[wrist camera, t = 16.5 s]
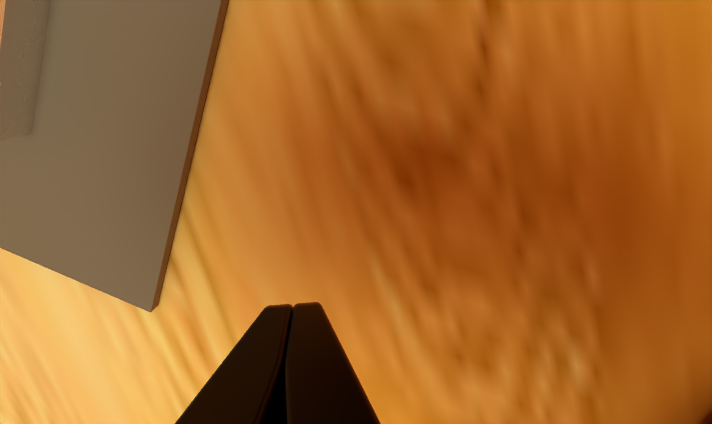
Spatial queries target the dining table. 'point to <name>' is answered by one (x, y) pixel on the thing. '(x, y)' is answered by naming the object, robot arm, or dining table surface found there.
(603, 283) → the dining table surface
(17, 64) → the wooden block
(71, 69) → the rubber mat
